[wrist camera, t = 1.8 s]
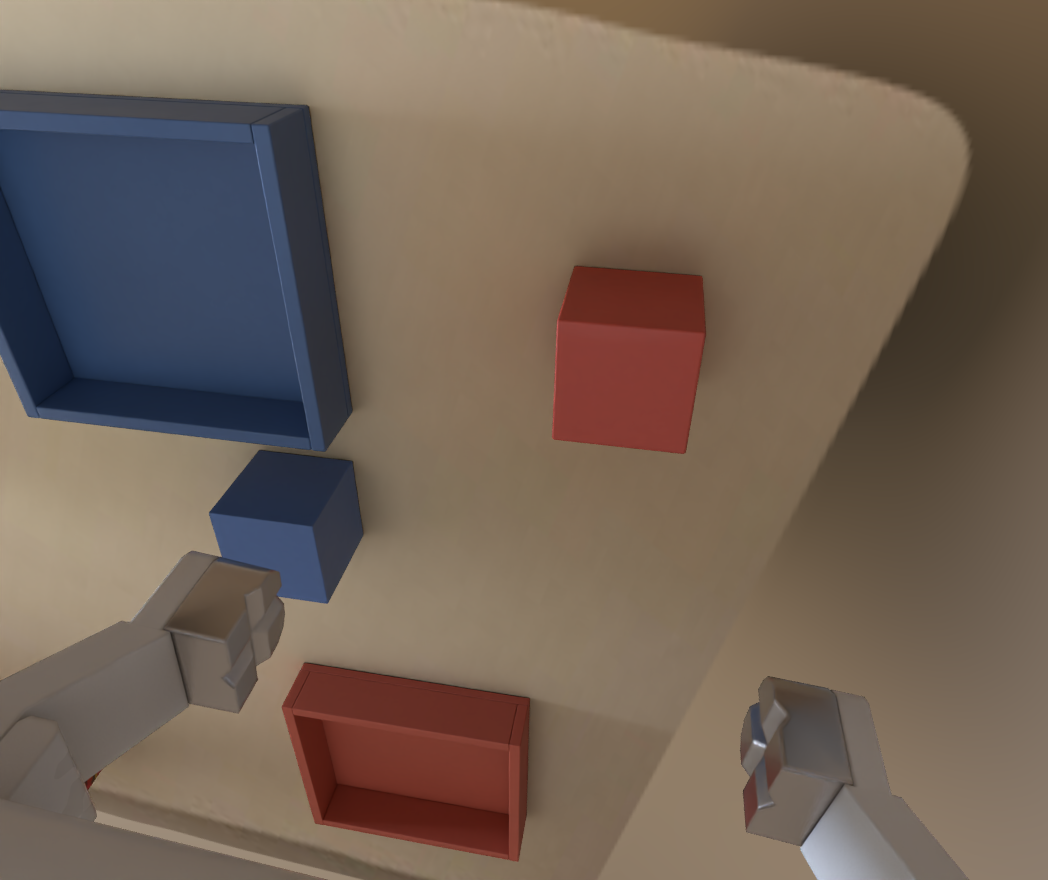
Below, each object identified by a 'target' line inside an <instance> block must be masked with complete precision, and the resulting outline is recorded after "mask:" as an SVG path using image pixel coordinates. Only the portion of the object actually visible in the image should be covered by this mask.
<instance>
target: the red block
mask: <svg viewBox="0 0 1048 880" xmlns="http://www.w3.org/2000/svg"><path fill="white" fill-rule="evenodd" d="M705 337H706V326H705V309H704V292H703V278H702V276H696V275H683V274H670V273H657V272H644V271H632V270H619V269H606V268H593V267H580V266H575V267H574V269H573V272H572V275H571V278H570V282H569V285H568V288H567V291H566V294H565V297H564V301H563V304H562V307H561V310H560V313H559V317H558V320H557V333H556V357H555V381H554V404H553V428H552V438H553V439H554V440H563V441H572V442H581V443H590V444H599V445H608V446H617V447H626V448H635V449H644V450H653V451H662V452H671V453H681V454H684V453H685V452H686V448H687V443H688V437H689V431H690V425H691V419H692V413H693V408H694V402H695V396H696V390H697V384H698V378H699V372H700V367H701V361H702V355H703V349H704V343H705Z"/></svg>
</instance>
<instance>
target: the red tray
mask: <svg viewBox="0 0 1048 880" xmlns="http://www.w3.org/2000/svg"><path fill="white" fill-rule="evenodd" d="M529 707H530V699H529V698H523V697H517V696H511V695H504V694H498V693H492V692H485V691H479V690H473V689H466V688H460V687H454V686H447V685H441V684H435V683H428V682H422V681H416V680H410V679H403V678H397V677H391V676H384V675H378V674H372V673H365V672H359V671H353V670H346V669H340V668H334V667H327V666H321V665H315V664H309V663H304V664H303V666H302V668H301V670H300V672H299V674H298V676H297V678H296V680H295V682H294V684H293V686H292V688H291V689H290V691H289V693H288V695H287V697H286V699H285V701H284V703H283V705H282V710H283V713H284V717H285V720H286V724H287V727H288V731H289V734H290V738H291V741H292V745H293V748H294V752H295V755H296V759H297V762H298V766H299V769H300V773H301V776H302V780H303V783H304V786H305V790H306V793H307V797H308V800H309V804H310V807H311V811H312V814H313V818H314V821H315V823H316V824H321V825H327V826H332V827H338V828H343V829H348V830H354V831H359V832H364V833H369V834H375V835H380V836H385V837H391V838H396V839H401V840H407V841H412V842H417V843H422V844H428V845H433V846H438V847H444V848H449V849H454V850H459V851H465V852H470V853H475V854H481V855H486V856H491V857H497V858H502V859H507V860H508V859H509V860H512V861H517V862H518V861H519V855H520V850H521V844H522V838H523V832H524V827H525V821H526V815H527V780H528V743H529Z"/></svg>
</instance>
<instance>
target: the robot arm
mask: <svg viewBox="0 0 1048 880" xmlns="http://www.w3.org/2000/svg"><path fill="white" fill-rule="evenodd" d="M281 586H282V583H281V577H280V572H278V571H275V570H272V569H268V568H264V567H259V566H255V565H251V564H247V563H243V562H239V561H235V560H231V559H227V558H223V557H218V556H214V555H209V554H205V553H201V552H196V551H191V552H189V553H187V554H186V555H184V556H183V557H182V558H181V559H180V560H179V562H178V563H177V564H176V565H175V567H174V568H173V569H172V570H171V572H170V573H169V574H168V575H167V577H166V578H165V579H164V580H163V582H162V583H161V584H160V585H159V587H158V588H157V589H156V590H155V592H154V593H153V594H152V595H151V597H150V598H149V599H148V600H147V602H146V603H145V604H144V605H143V607H142V608H141V609H140V610H139V612H138V613H137V614H136V615H135V617H134V618H133V619H132V620H131V622H125V621H120V622H118V623H116V624H114V625H112V626H110V627H108V628H106V629H104V630H102V631H100V632H98V633H96V634H94V635H92V636H90V637H88V638H86V639H84V640H82V641H80V642H78V643H76V644H74V645H72V646H70V647H68V648H66V649H64V650H62V651H59V652H57V653H55V654H53V655H51V656H49V657H47V658H45V659H43V660H41V661H39V662H37V663H35V664H33V665H31V666H29V667H27V668H25V669H23V670H21V671H19V672H17V673H15V674H13V675H11V676H9V677H7V678H5V679H3V680H1V681H0V880H326V879H322V878H318V877H314V876H310V875H306V874H302V873H298V872H294V871H290V870H286V869H282V868H278V867H274V866H270V865H266V864H262V863H258V862H254V861H250V860H246V859H242V858H238V857H234V856H230V855H225V854H222V853H218V852H214V851H210V850H205V849H202V848H198V847H193V846H190V845H185V844H181V843H177V842H173V841H169V840H165V839H161V838H157V837H153V836H149V835H145V834H141V833H137V832H133V831H129V830H125V829H121V828H117V827H113V826H109V825H105V824H101V823H97V822H94V820H95V819H96V817H97V814H96V808H95V805H94V803H93V801H92V799H91V797H90V794H89V792H88V790H87V788H86V785H85V783H84V782H85V781H86V780H88V779H89V778H91V777H92V776H93V775H95V774H96V773H98V772H99V771H100V770H102V769H103V768H104V767H106V766H107V765H109V764H110V763H111V762H113V761H114V760H116V759H117V758H118V757H120V756H121V755H122V754H124V753H125V752H127V751H128V750H129V749H131V748H132V747H134V746H135V745H136V744H138V743H139V742H140V741H142V740H143V739H145V738H146V737H147V736H149V735H150V734H152V733H153V732H154V731H156V730H157V729H158V728H160V727H161V726H163V725H164V724H165V723H167V722H168V721H170V720H171V719H172V718H174V717H175V716H176V715H178V714H179V713H181V712H182V711H183V710H185V709H186V708H188V707H189V704H194V705H199V706H204V707H209V708H214V709H218V710H223V711H228V712H233V713H238V714H239V712H240V710H241V708H242V707H243V705H244V703H245V701H246V700H247V698H248V696H249V694H250V693H251V691H252V689H253V687H254V686H255V684H256V682H257V680H258V678H257V671H256V666H257V665H259V664H260V663H262V662H264V661H266V660H267V659H269V658H270V657H271V655H272V653H273V652H274V650H275V648H276V646H277V644H278V642H279V639H280V636H281V633H282V629H283V626H284V617H285V610H284V603H283V602H282V601H281V600H280V599H279V598H278V596H277V593H278V591H279V589H280V588H281ZM758 692H759V702H758V703H756V704H754V705H752V706H750V707H749V710H748V712H747V714H746V717H745V719H744V723H743V728H742V733H741V745H740V746H741V747H740V752H741V765H742V766H743V768H744V769H745V771H746V772H747V774H748V775H749V776H750V779H749V780H748V782H747V784H746V786H745V788H744V790H743V798H744V811H745V824H746V832H748V833H752V834H756V835H759V836H764V837H767V838H771V839H775V840H779V841H782V842H786V843H790V844H794V845H798V846H801V848H800V850H801V852H802V853H803V855H804V857H805V859H806V860H807V862H808V864H809V866H810V867H811V869H812V871H813V872H814V874H815V876H816V878H817V880H969V879H968V878H967V876H966V875H965V874H964V873H963V871H962V870H961V869H960V868H959V867H958V865H957V864H956V863H955V862H954V861H953V859H952V858H951V857H950V856H949V854H947V852H946V851H945V850H944V848H943V847H942V846H941V845H940V844H939V842H938V841H937V840H936V839H935V838H934V836H933V835H932V834H931V833H930V832H929V830H928V829H927V828H926V827H925V825H924V824H923V823H922V822H921V821H920V819H919V818H918V817H917V816H916V815H915V813H914V812H913V811H912V810H911V809H910V807H909V806H908V805H907V804H906V802H905V801H904V800H903V799H902V798H901V797H898V796H895V795H891V791H890V787H889V783H888V779H887V775H886V771H885V767H884V762H883V759H882V754H881V751H880V746H879V743H878V738H877V734H876V730H875V726H874V722H873V718H872V714H871V710H870V706H869V703H868V701H867V700H866V699H865V697H863V696H858V695H854V694H849V693H845V692H840V691H835V690H829V689H828V688H824V687H819V686H814V685H809V684H804V683H799V682H795V681H789V680H785V679H780V678H775V677H770V676H768V677H766V678H765V679H764V680H763V681H762V683H761V685H760V687H759V689H758ZM188 703H189V704H188Z"/></svg>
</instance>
